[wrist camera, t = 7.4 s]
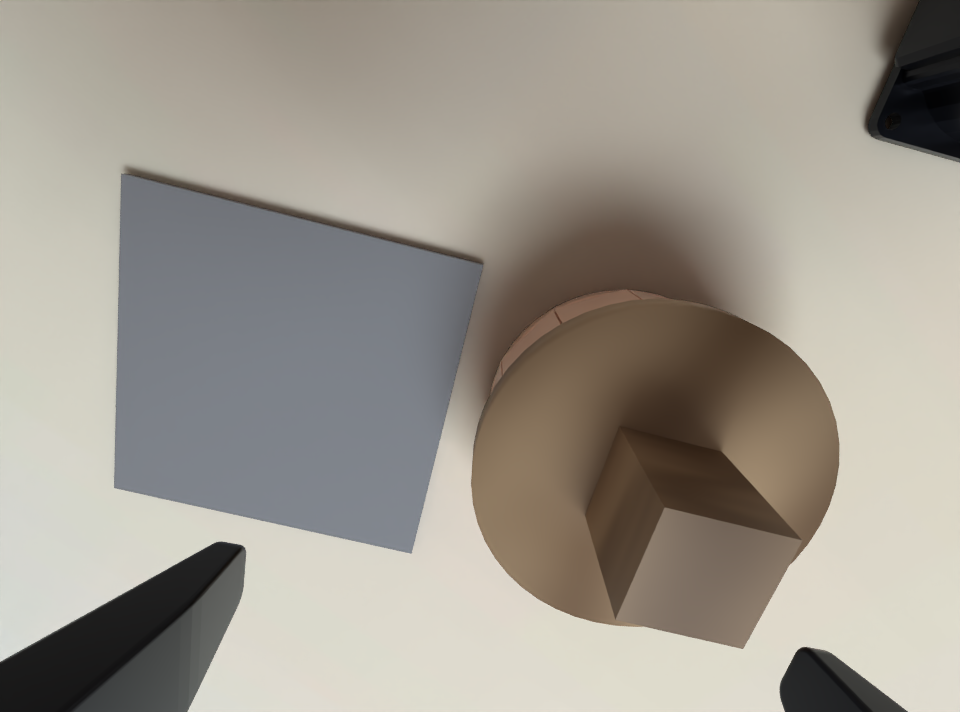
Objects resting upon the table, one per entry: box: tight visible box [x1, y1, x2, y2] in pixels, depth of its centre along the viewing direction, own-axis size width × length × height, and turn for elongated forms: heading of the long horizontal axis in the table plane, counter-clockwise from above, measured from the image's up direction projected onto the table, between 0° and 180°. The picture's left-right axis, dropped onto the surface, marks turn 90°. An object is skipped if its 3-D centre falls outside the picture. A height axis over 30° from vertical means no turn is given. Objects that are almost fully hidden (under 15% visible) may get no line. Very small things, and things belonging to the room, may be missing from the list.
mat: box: [114, 174, 483, 553], centre depth 20 cm, size 13×13×1 cm
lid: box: [471, 299, 839, 649], centre depth 14 cm, size 11×11×5 cm
